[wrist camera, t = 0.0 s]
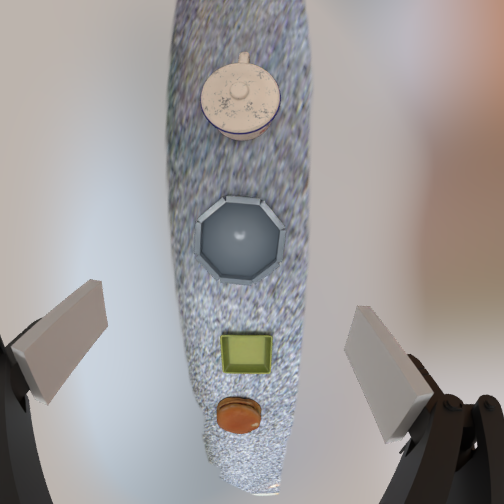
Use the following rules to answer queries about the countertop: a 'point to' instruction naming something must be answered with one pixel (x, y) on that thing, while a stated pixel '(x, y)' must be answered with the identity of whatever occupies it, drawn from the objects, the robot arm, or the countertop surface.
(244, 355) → the green shallow square dish
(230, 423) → the burger
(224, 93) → the teacup with lid
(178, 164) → the countertop surface
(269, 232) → the ashtray
